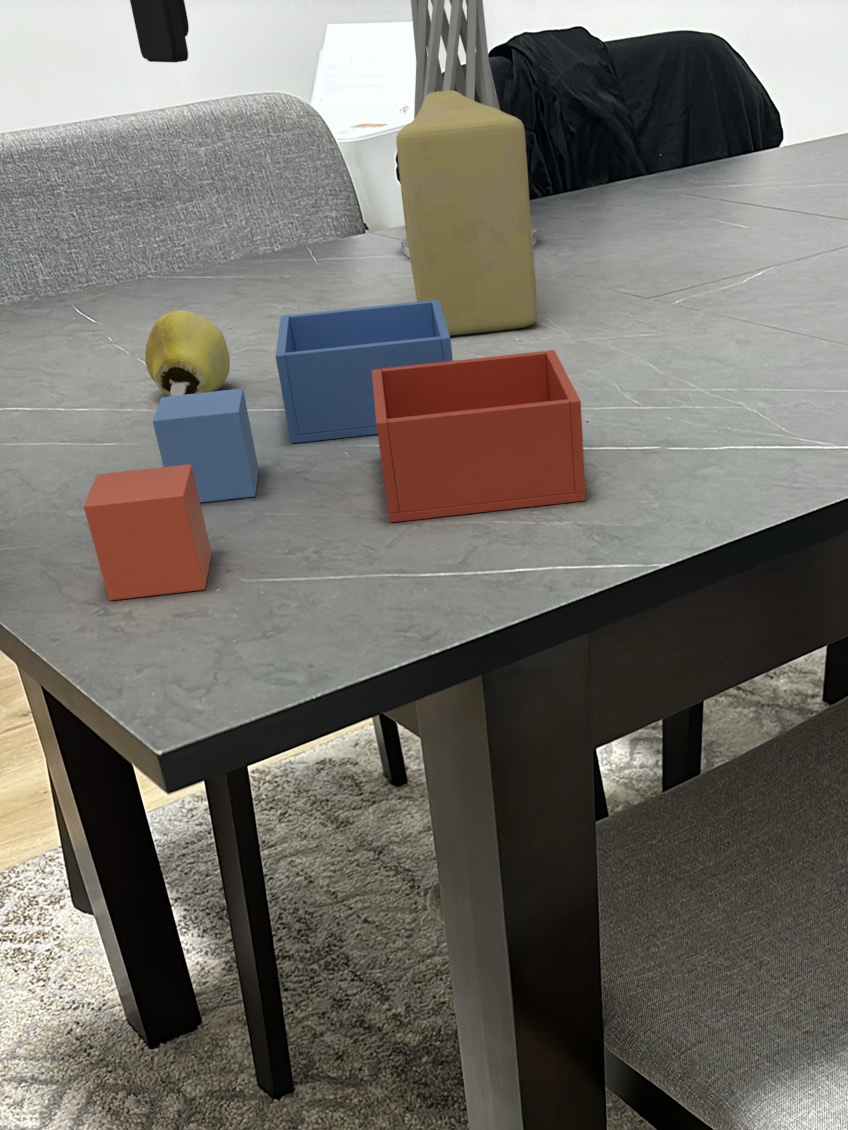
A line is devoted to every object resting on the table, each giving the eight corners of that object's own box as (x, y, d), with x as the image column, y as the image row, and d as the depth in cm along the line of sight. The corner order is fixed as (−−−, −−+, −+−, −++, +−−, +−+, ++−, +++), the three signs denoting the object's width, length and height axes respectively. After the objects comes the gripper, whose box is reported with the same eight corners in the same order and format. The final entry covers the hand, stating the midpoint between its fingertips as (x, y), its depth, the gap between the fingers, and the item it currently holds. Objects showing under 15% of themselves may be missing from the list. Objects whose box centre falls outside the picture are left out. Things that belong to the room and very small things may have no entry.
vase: (397, 266, 134) (340, -203, 113) (406, 239, 145) (355, -194, 124) (537, 255, 134) (506, -218, 113) (536, 229, 145) (507, -208, 123)
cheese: (408, 283, 128) (385, 93, 119) (512, 272, 129) (497, 82, 120) (419, 341, 111) (393, 124, 102) (539, 328, 111) (525, 111, 102)
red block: (109, 601, 72) (82, 505, 69) (120, 565, 76) (96, 474, 73) (205, 590, 72) (183, 494, 69) (212, 555, 76) (191, 463, 73)
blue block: (172, 506, 83) (152, 420, 80) (179, 479, 87) (160, 396, 84) (255, 496, 84) (238, 411, 80) (259, 470, 87) (243, 388, 84)
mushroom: (138, 423, 98) (146, 366, 105) (225, 438, 100) (227, 381, 106) (142, 341, 94) (150, 287, 101) (232, 358, 96) (234, 304, 103)
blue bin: (290, 443, 91) (275, 355, 88) (294, 397, 100) (280, 315, 97) (459, 425, 92) (450, 337, 89) (448, 380, 101) (439, 299, 98)
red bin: (389, 522, 78) (376, 423, 75) (384, 461, 87) (371, 369, 84) (586, 500, 79) (580, 400, 76) (560, 441, 88) (554, 349, 84)
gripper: (104, -466, 55) (201, 50, 65) (-367, -493, 47) (-170, 102, 57) (196, -514, 50) (284, 51, 60) (-311, -553, 42) (-108, 108, 52)
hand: (64, 75), depth 59 cm, fingers open, 9 cm apart
